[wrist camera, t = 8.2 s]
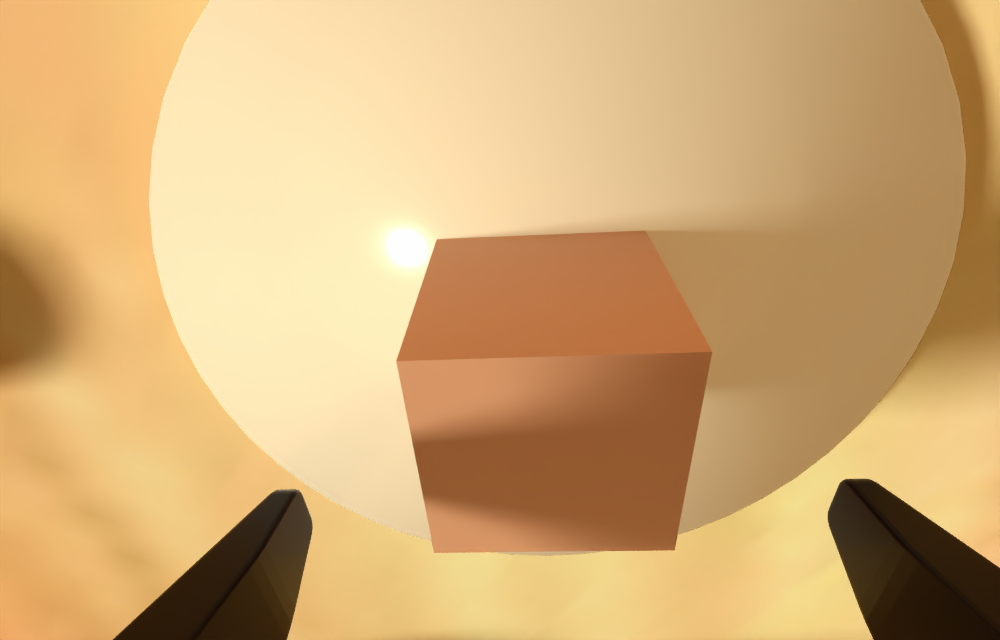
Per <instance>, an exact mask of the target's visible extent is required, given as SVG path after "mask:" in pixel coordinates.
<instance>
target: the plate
mask: <svg viewBox="0 0 1000 640" xmlns="http://www.w3.org/2000/svg"><path fill="white" fill-rule="evenodd" d="M965 177H966V151H965V142H964V133H963V124H962V116H961V107H960V101H959V98H958V94H957V91H956V87H955V84H954V80H953V77H952V74H951V70H950V67H949V63H948V60H947V56H946V53H945V50H944V46H943V44H942V42H941V40H940V38H939V36H938V34H937V32H936V30H935V28H934V26H933V24H932V22H931V20H930V18H929V16H928V14H927V12H926V10H925V8H924V6H923V4H922V2H921V0H210V1H209V3H208V4H207V6H206V8H205V9H204V11H203V13H202V14H201V16H200V18H199V19H198V21H197V23H196V24H195V26H194V28H193V29H192V31H191V33H190V34H189V36H188V38H187V39H186V41H185V44H184V46H183V49H182V52H181V54H180V57H179V59H178V62H177V64H176V67H175V69H174V72H173V74H172V77H171V79H170V82H169V84H168V87H167V89H166V92H165V95H164V98H163V103H162V107H161V112H160V116H159V121H158V126H157V130H156V135H155V139H154V144H153V148H152V161H151V178H150V194H149V207H150V218H151V230H152V241H153V251H154V256H155V260H156V264H157V268H158V273H159V277H160V281H161V286H162V290H163V294H164V297H165V300H166V303H167V305H168V308H169V311H170V313H171V316H172V318H173V321H174V324H175V326H176V329H177V332H178V334H179V337H180V339H181V341H182V343H183V344H184V346H185V348H186V350H187V352H188V354H189V356H190V357H191V359H192V361H193V363H194V365H195V367H196V369H197V371H198V372H199V374H200V376H201V377H202V379H203V380H204V382H205V383H206V384H207V386H208V387H209V389H210V390H211V392H212V393H213V394H214V396H215V397H216V399H217V400H218V402H219V403H220V404H221V406H222V407H223V409H224V410H225V411H226V412H227V413H228V414H229V415H230V416H231V418H232V419H233V420H234V421H235V422H236V423H237V424H238V426H239V427H240V428H241V429H242V430H243V431H244V432H245V433H246V435H247V436H248V437H249V438H250V439H251V440H252V441H253V442H254V443H256V444H257V445H258V446H259V447H260V448H261V449H262V450H263V451H264V452H265V453H267V454H268V455H269V456H270V457H271V458H272V459H273V460H274V461H275V462H276V463H278V464H279V465H280V466H281V467H283V468H284V469H285V470H287V471H288V472H289V473H291V474H292V475H294V476H295V477H296V478H298V479H299V480H300V481H302V482H303V483H304V484H306V485H307V486H308V487H310V488H312V489H313V490H315V491H317V492H318V493H320V494H322V495H323V496H325V497H327V498H328V499H330V500H332V501H333V502H335V503H337V504H338V505H340V506H342V507H344V508H346V509H348V510H350V511H352V512H354V513H356V514H359V515H361V516H363V517H365V518H367V519H369V520H371V521H373V522H376V523H378V524H381V525H384V526H386V527H389V528H392V529H394V530H397V531H400V532H402V533H405V534H408V535H411V536H415V537H418V538H422V539H425V540H429V541H432V539H431V534H430V529H429V524H428V519H427V514H426V509H425V504H424V499H423V494H422V489H421V484H420V479H419V474H418V469H417V464H416V459H415V454H414V449H413V444H412V439H411V434H410V429H409V423H408V418H407V413H406V408H405V403H404V398H403V393H402V388H401V383H400V378H399V373H398V368H397V363H396V360H397V357H398V354H399V351H400V348H401V345H402V342H403V339H404V336H405V333H406V330H407V327H408V324H409V321H410V318H411V315H412V312H413V309H414V306H415V303H416V300H417V297H418V294H419V291H420V288H421V285H422V282H423V279H424V276H425V273H426V270H427V267H428V264H429V261H430V258H431V255H432V252H433V249H434V246H435V243H436V240H437V239H455V238H479V237H503V236H527V235H550V234H574V233H598V232H622V231H646V232H647V234H648V236H649V238H650V240H651V241H652V243H653V245H654V247H655V249H656V251H657V252H658V254H659V256H660V258H661V260H662V261H663V263H664V265H665V267H666V269H667V270H668V272H669V274H670V276H671V278H672V280H673V281H674V283H675V285H676V287H677V289H678V290H679V292H680V294H681V296H682V298H683V299H684V301H685V303H686V305H687V307H688V308H689V310H690V312H691V314H692V316H693V318H694V319H695V321H696V323H697V325H698V327H699V328H700V330H701V332H702V334H703V336H704V337H705V339H706V341H707V343H708V345H709V347H710V348H711V350H712V356H711V362H710V367H709V372H708V377H707V383H706V388H705V393H704V398H703V404H702V409H701V414H700V419H699V425H698V430H697V435H696V440H695V445H694V451H693V456H692V461H691V466H690V472H689V477H688V482H687V487H686V493H685V498H684V503H683V508H682V514H681V519H680V524H679V529H678V534H681V533H684V532H688V531H691V530H694V529H696V528H699V527H701V526H704V525H706V524H709V523H711V522H714V521H716V520H719V519H721V518H724V517H726V516H729V515H731V514H733V513H734V512H736V511H738V510H740V509H742V508H744V507H746V506H748V505H750V504H752V503H754V502H756V501H758V500H760V499H762V498H764V497H765V496H767V495H769V494H770V493H772V492H773V491H775V490H777V489H778V488H780V487H781V486H783V485H785V484H786V483H788V482H789V481H791V480H793V479H794V478H796V477H797V476H799V475H800V474H801V473H803V472H804V471H805V470H807V469H808V468H809V467H810V466H812V465H813V464H814V463H816V462H817V461H818V460H820V459H821V458H822V457H823V456H825V455H826V454H827V453H829V452H830V451H831V450H832V449H833V448H834V447H835V446H836V445H837V444H838V443H840V442H841V441H842V440H843V439H844V438H845V437H846V436H847V435H848V434H849V433H850V432H851V431H852V430H853V429H854V428H856V427H857V426H858V425H859V424H860V423H861V422H862V421H863V419H864V418H865V417H866V416H867V415H868V414H869V412H870V411H871V410H872V409H873V408H874V407H875V405H876V404H877V403H878V402H879V401H880V400H881V398H882V397H883V396H884V395H885V394H886V393H887V392H888V390H889V389H890V388H891V386H892V385H893V383H894V382H895V380H896V379H897V377H898V376H899V374H900V373H901V372H902V370H903V369H904V367H905V366H906V364H907V363H908V361H909V360H910V358H911V357H912V355H913V354H914V352H915V351H916V349H917V347H918V345H919V343H920V341H921V339H922V337H923V335H924V333H925V331H926V329H927V327H928V325H929V324H930V322H931V320H932V318H933V316H934V314H935V312H936V310H937V307H938V305H939V302H940V299H941V296H942V293H943V291H944V288H945V285H946V282H947V279H948V277H949V274H950V271H951V268H952V265H953V262H954V258H955V253H956V248H957V243H958V238H959V233H960V228H961V223H962V219H963V214H964V197H965ZM594 552H601V551H550V552H492V553H501V554H511V555H542V556H551V555H570V554H586V553H594Z"/></svg>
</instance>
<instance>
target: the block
mask: <svg viewBox="0 0 1000 640" xmlns="http://www.w3.org/2000/svg"><path fill="white" fill-rule="evenodd" d="M711 356H712V350H711V348H710V347H709V345H708V343H707V341H706V339H705V337H704V336H703V334H702V332H701V330H700V328H699V327H698V325H697V323H696V321H695V319H694V318H693V316H692V314H691V312H690V310H689V308H688V307H687V305H686V303H685V301H684V299H683V298H682V296H681V294H680V292H679V290H678V289H677V287H676V285H675V283H674V281H673V280H672V278H671V276H670V274H669V272H668V270H667V269H666V267H665V265H664V263H663V261H662V260H661V258H660V256H659V254H658V252H657V251H656V249H655V247H654V245H653V243H652V241H651V240H650V238H649V236H648V234H647V232H646V231H622V232H598V233H574V234H550V235H527V236H503V237H479V238H455V239H437V240H436V243H435V246H434V249H433V252H432V255H431V258H430V261H429V264H428V267H427V270H426V273H425V276H424V279H423V282H422V285H421V288H420V291H419V294H418V297H417V300H416V303H415V306H414V309H413V312H412V315H411V318H410V321H409V324H408V327H407V330H406V333H405V336H404V339H403V342H402V345H401V348H400V351H399V354H398V357H397V360H396V363H397V368H398V373H399V378H400V383H401V388H402V393H403V398H404V403H405V408H406V413H407V418H408V423H409V429H410V434H411V439H412V444H413V449H414V454H415V459H416V464H417V469H418V474H419V479H420V484H421V489H422V494H423V499H424V504H425V509H426V514H427V519H428V524H429V529H430V534H431V539H432V544H433V549H434V553H451V552H550V551H649V550H675V545H676V540H677V535H678V529H679V524H680V519H681V514H682V508H683V503H684V498H685V493H686V487H687V482H688V477H689V472H690V466H691V461H692V456H693V451H694V445H695V440H696V435H697V430H698V425H699V419H700V414H701V409H702V404H703V398H704V393H705V388H706V383H707V377H708V372H709V367H710V362H711Z"/></svg>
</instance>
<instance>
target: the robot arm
mask: <svg viewBox="0 0 1000 640" xmlns="http://www.w3.org/2000/svg"><path fill="white" fill-rule="evenodd" d="M828 523H829V527H830V530H831V533H832V535H833V538H834V541H835V543H836V546H837V549H838V551H839V554H840V557H841V559H842V562H843V565H844V567H845V570H846V573H847V575H848V578H849V581H850V583H851V586H852V589H853V591H854V594H855V597H856V599H857V602H858V605H859V607H860V610H861V612H862V615H863V617H864V620H865V622H866V624H867V626H868V628H869V631H870V633H871V635H872V637H873V639H874V640H1000V568H999V567H998V566H996V565H995V564H993V563H992V562H991V561H989V560H988V559H986V558H985V557H983V556H982V555H980V554H979V553H978V552H976V551H975V550H973V549H972V548H970V547H969V546H967V545H966V544H965V543H963V542H962V541H960V540H959V539H957V538H956V537H954V536H953V535H952V534H950V533H949V532H947V531H946V530H944V529H943V528H941V527H940V526H939V525H937V524H936V523H934V522H933V521H931V520H930V519H928V518H927V517H926V516H924V515H923V514H921V513H920V512H918V511H917V510H915V509H914V508H913V507H911V506H910V505H908V504H907V503H905V502H904V501H902V500H901V499H900V498H898V497H897V496H895V495H894V494H892V493H891V492H889V491H888V490H887V489H885V488H884V487H882V486H881V485H879V484H878V483H876V482H874V481H872V480H869V479H845V480H843V481H842V482H841V483H840V484H839V486H838V488H837V491H836V493H835V496H834V498H833V501H832V503H831V506H830V508H829V511H828ZM311 535H312V519H311V516H310V514H309V511H308V508H307V506H306V503H305V501H304V498H303V495H302V493H301V492H300V491H299V490H296V489H289V490H276V491H274V492H272V493H271V494H270V495H269V496H267V497H266V498H265V499H264V500H263V501H262V502H261V503H260V504H259V505H258V506H257V507H256V508H254V509H253V510H252V511H251V512H250V513H249V514H248V515H247V516H246V517H245V518H244V519H243V520H242V521H240V522H239V523H238V524H237V525H236V526H235V527H234V528H233V529H232V530H231V531H230V532H229V533H227V534H226V535H225V536H224V537H223V538H222V539H221V540H220V541H219V542H218V543H217V544H216V545H214V546H213V547H212V548H211V549H210V550H209V551H208V552H207V553H206V554H205V555H204V556H203V557H202V558H200V559H199V560H198V561H197V562H196V563H195V564H194V565H193V566H192V567H191V568H190V569H189V570H187V571H186V572H185V573H184V574H183V575H182V576H181V577H180V578H179V579H178V580H177V581H176V582H174V583H173V584H172V585H171V586H170V587H169V588H168V589H167V590H166V591H165V592H164V593H163V594H162V595H160V596H159V597H158V598H157V599H156V600H155V601H154V602H153V603H152V604H151V605H150V606H149V607H147V608H146V609H145V610H144V611H143V612H142V613H141V614H140V615H139V616H138V617H137V618H136V619H134V620H133V621H132V622H131V623H130V624H129V625H128V626H127V627H126V628H125V629H124V630H123V631H122V632H120V633H119V634H118V635H117V636H116V637H115V638H114V639H113V640H287V637H288V633H289V630H290V627H291V624H292V620H293V615H294V611H295V607H296V603H297V598H298V594H299V589H300V585H301V580H302V576H303V571H304V567H305V562H306V558H307V553H308V549H309V544H310V540H311Z"/></svg>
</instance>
